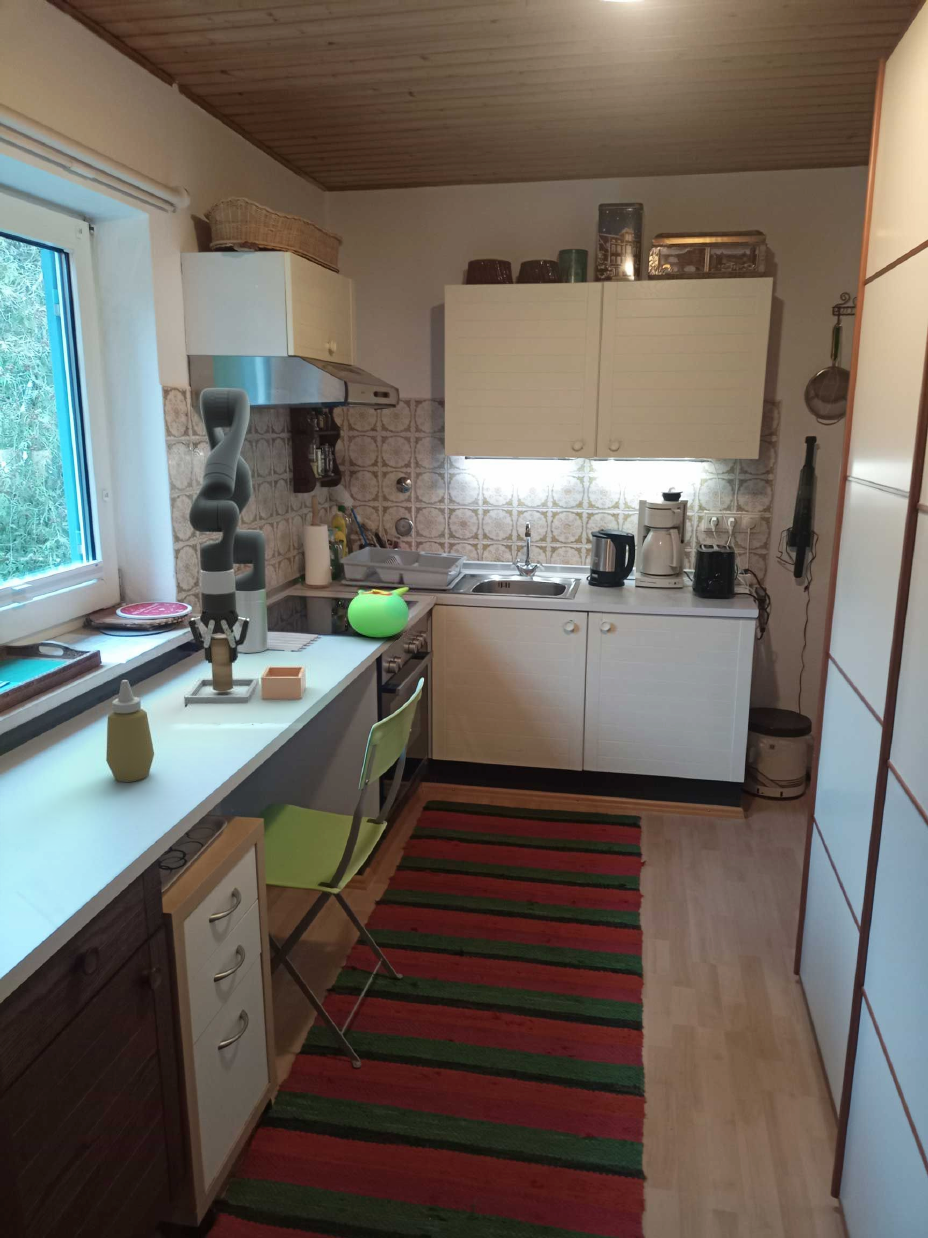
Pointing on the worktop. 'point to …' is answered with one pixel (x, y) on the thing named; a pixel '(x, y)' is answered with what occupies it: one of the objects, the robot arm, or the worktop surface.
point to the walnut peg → (221, 664)
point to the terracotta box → (283, 683)
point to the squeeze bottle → (128, 738)
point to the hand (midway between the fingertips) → (221, 661)
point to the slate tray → (246, 698)
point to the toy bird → (378, 612)
